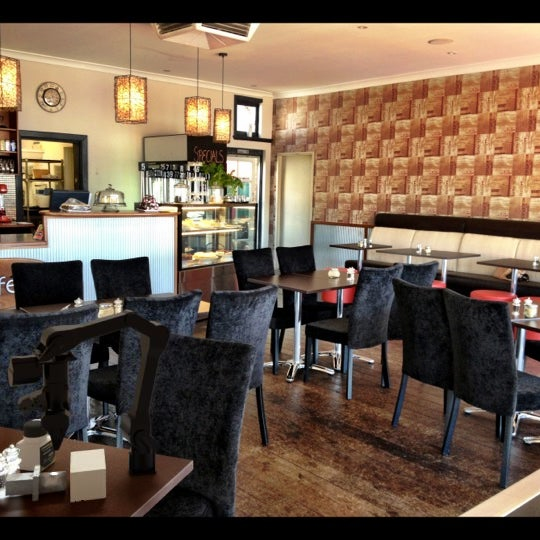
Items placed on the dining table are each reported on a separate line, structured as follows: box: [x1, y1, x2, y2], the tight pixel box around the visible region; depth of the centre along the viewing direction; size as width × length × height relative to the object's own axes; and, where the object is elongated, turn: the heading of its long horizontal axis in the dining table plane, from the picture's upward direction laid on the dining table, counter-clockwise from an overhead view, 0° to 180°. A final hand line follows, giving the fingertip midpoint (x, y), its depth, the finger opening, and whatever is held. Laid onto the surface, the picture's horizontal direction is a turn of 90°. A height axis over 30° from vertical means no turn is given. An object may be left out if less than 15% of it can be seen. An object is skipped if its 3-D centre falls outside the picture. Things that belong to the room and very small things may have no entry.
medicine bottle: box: [15, 418, 56, 473], centre depth 154 cm, size 7×7×12 cm
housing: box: [69, 448, 107, 503], centre depth 142 cm, size 8×12×7 cm, turn 18°
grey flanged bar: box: [4, 465, 67, 502], centre depth 139 cm, size 13×6×6 cm, turn 108°
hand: (57, 442), depth 140 cm, fingers open, 9 cm apart
